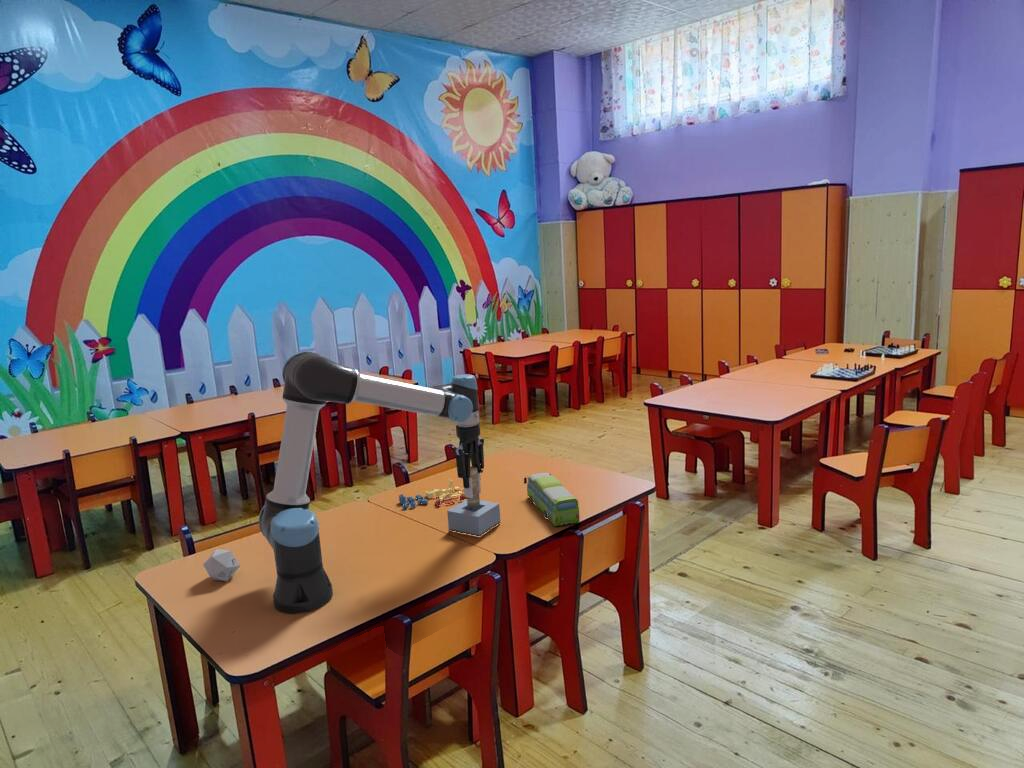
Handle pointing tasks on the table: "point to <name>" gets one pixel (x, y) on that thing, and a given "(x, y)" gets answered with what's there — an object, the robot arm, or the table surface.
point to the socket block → (473, 517)
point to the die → (221, 565)
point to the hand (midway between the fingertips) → (472, 494)
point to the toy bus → (552, 499)
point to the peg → (474, 488)
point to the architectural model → (437, 492)
